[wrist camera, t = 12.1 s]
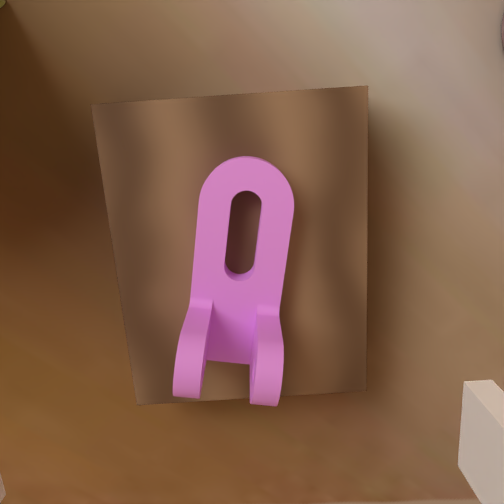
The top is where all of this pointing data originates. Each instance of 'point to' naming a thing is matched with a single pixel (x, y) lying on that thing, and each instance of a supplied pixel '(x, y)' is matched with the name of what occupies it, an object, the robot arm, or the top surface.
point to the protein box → (2, 3)
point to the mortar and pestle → (502, 30)
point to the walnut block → (241, 228)
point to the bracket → (237, 284)
